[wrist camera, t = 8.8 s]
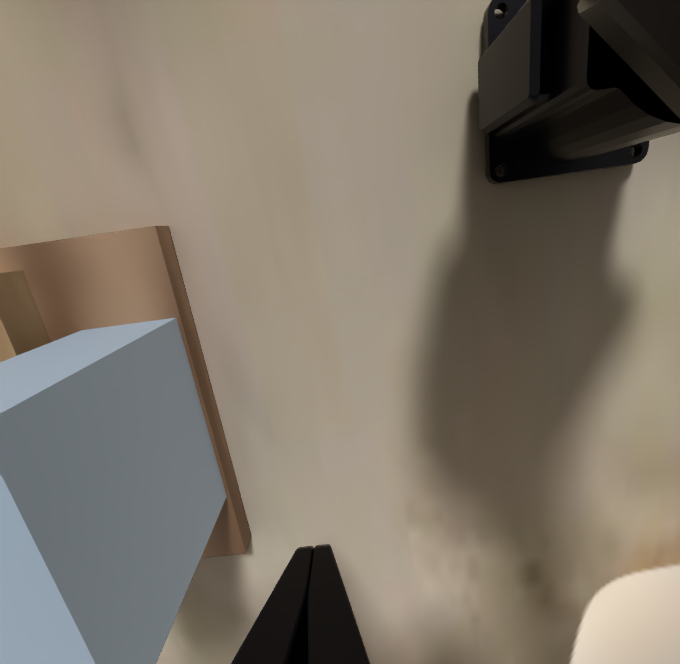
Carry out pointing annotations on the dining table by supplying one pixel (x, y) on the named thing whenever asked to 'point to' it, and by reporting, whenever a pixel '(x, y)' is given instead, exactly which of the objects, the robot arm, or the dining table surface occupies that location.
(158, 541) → the blue block
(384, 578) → the dining table surface
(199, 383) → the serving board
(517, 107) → the robot arm
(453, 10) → the dining table surface
